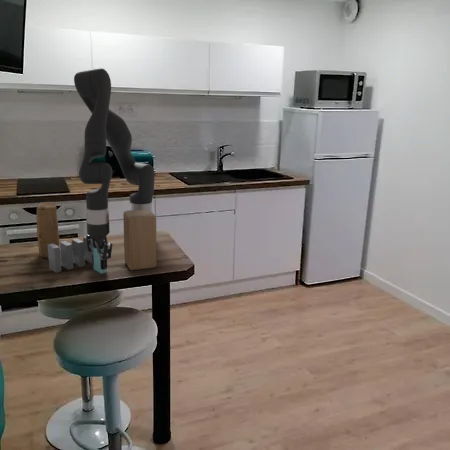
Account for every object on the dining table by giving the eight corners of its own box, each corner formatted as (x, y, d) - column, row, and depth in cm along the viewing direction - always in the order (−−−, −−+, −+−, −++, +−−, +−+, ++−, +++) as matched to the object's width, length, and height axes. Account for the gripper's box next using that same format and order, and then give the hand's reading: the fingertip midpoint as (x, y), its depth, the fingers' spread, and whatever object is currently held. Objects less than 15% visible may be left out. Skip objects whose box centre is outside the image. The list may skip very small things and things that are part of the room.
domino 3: (78, 261, 168) (76, 238, 165) (84, 265, 164) (83, 241, 162) (73, 262, 166) (71, 239, 164) (79, 266, 163) (78, 242, 160)
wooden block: (124, 261, 169) (122, 210, 163) (150, 258, 173) (149, 208, 167) (129, 271, 160) (128, 217, 154) (157, 268, 164) (156, 215, 158)
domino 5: (98, 267, 162) (97, 244, 160) (106, 272, 159) (105, 248, 156) (93, 269, 161) (92, 245, 158) (101, 273, 158) (100, 249, 155)
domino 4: (89, 258, 171) (88, 235, 168) (96, 262, 167) (95, 239, 165) (84, 259, 169) (83, 236, 167) (91, 263, 166) (90, 240, 163)
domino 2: (66, 264, 164) (65, 240, 162) (73, 268, 161) (71, 244, 159) (61, 265, 163) (59, 241, 160) (68, 269, 160) (66, 245, 157)
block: (60, 258, 170) (56, 206, 164) (38, 259, 167) (34, 207, 162) (60, 248, 179) (57, 199, 174) (40, 249, 177) (36, 200, 171)
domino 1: (54, 267, 161) (53, 243, 159) (61, 271, 158) (59, 247, 155) (49, 268, 160) (47, 244, 157) (55, 272, 157) (54, 248, 154)
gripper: (118, 223, 152) (120, 270, 157) (96, 214, 162) (98, 258, 167) (99, 227, 147) (101, 275, 152) (77, 217, 157) (80, 263, 162)
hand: (99, 266), depth 159 cm, fingers closed on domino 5, 5 cm apart
